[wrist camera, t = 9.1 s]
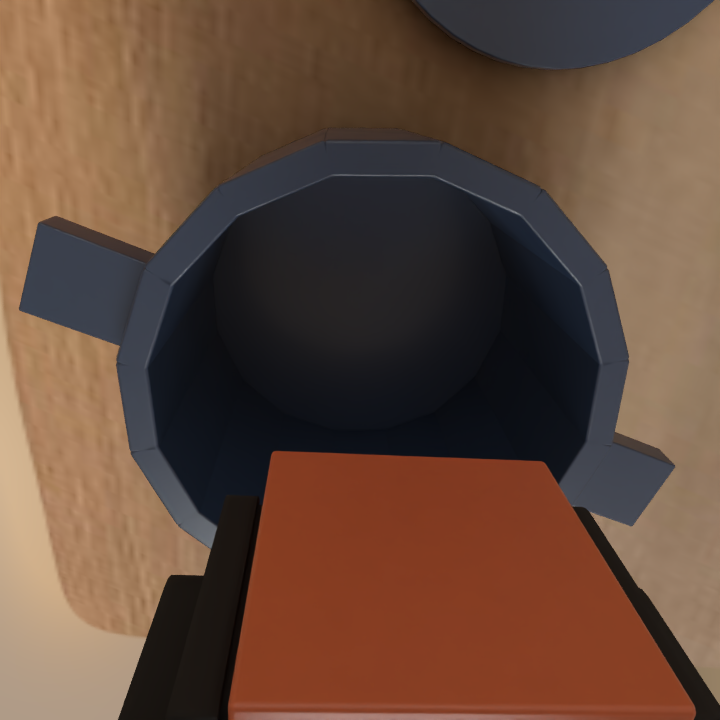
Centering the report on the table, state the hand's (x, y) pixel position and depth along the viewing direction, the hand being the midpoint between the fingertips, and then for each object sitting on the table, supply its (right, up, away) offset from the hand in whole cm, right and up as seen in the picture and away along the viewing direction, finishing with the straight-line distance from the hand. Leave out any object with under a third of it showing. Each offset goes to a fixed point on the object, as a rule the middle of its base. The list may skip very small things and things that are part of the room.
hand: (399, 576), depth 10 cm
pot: (-1, +6, +14) cm, 15 cm away
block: (0, 0, 0) cm, 0 cm away
